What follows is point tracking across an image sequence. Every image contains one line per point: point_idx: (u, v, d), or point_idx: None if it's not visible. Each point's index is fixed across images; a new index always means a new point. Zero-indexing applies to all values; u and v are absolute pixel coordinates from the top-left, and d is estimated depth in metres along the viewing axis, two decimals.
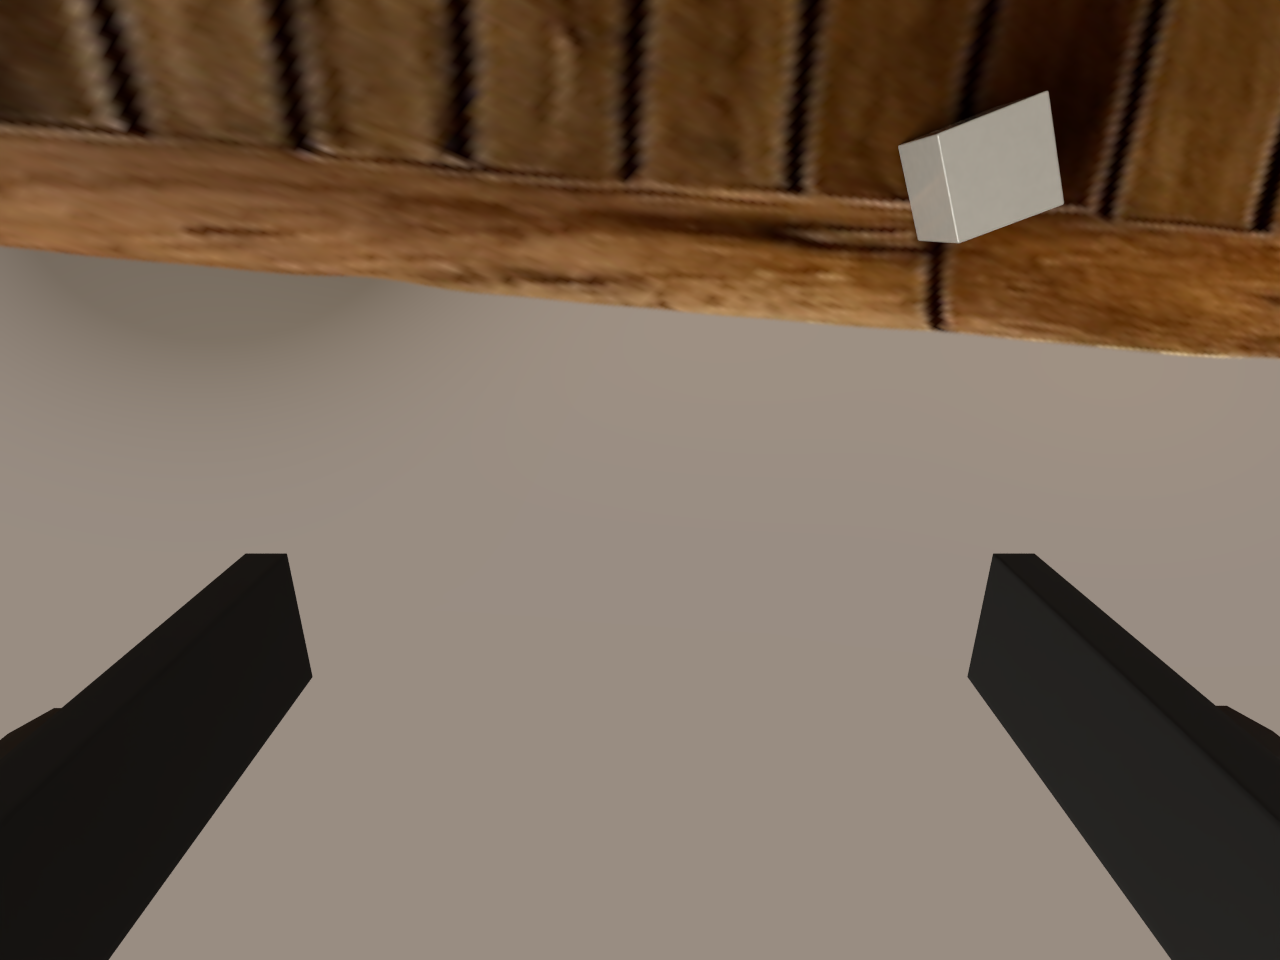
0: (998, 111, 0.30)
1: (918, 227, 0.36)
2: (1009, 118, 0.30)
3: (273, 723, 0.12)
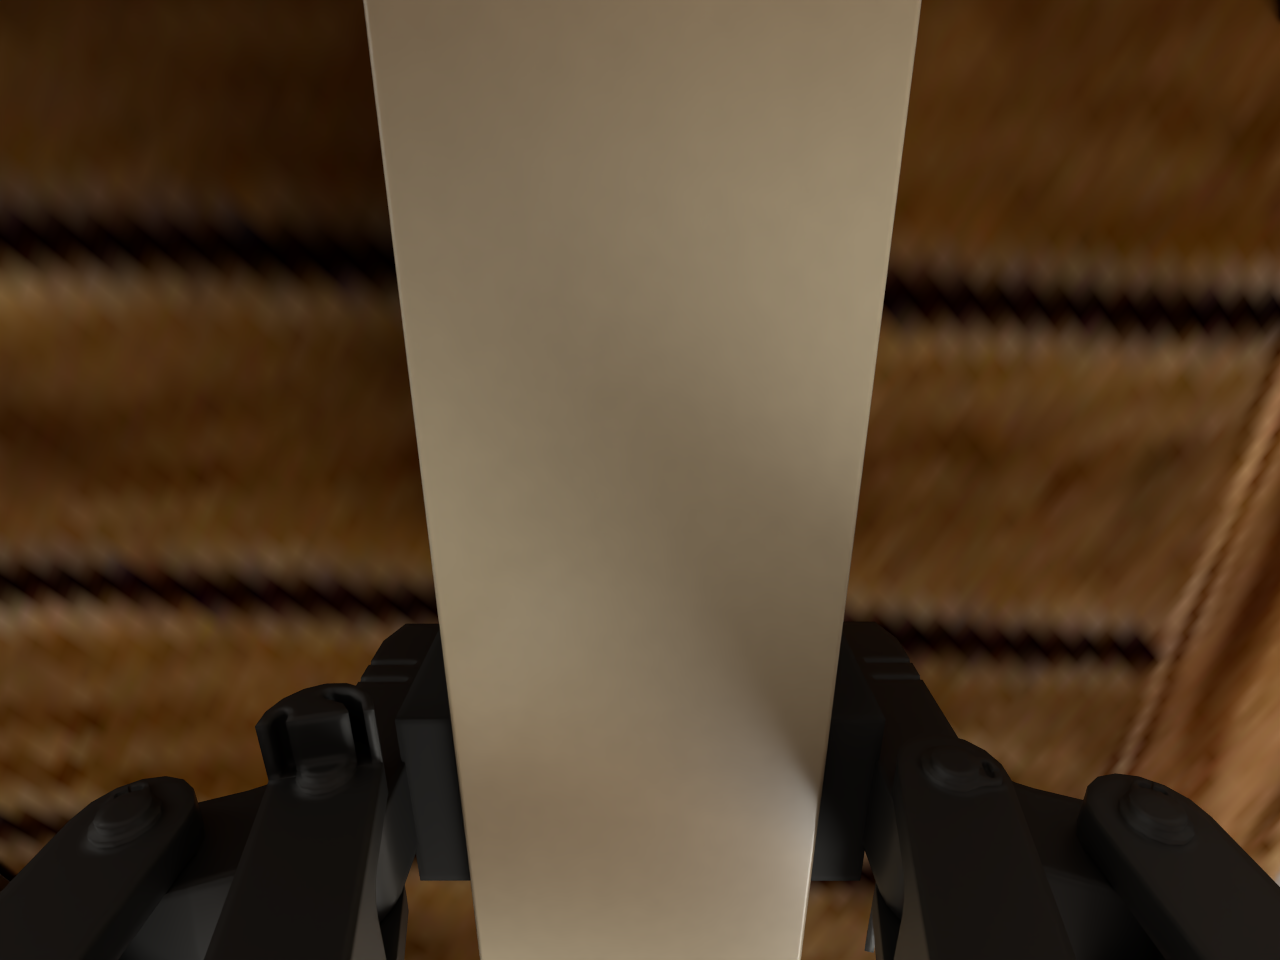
0: None
1: None
2: None
3: None
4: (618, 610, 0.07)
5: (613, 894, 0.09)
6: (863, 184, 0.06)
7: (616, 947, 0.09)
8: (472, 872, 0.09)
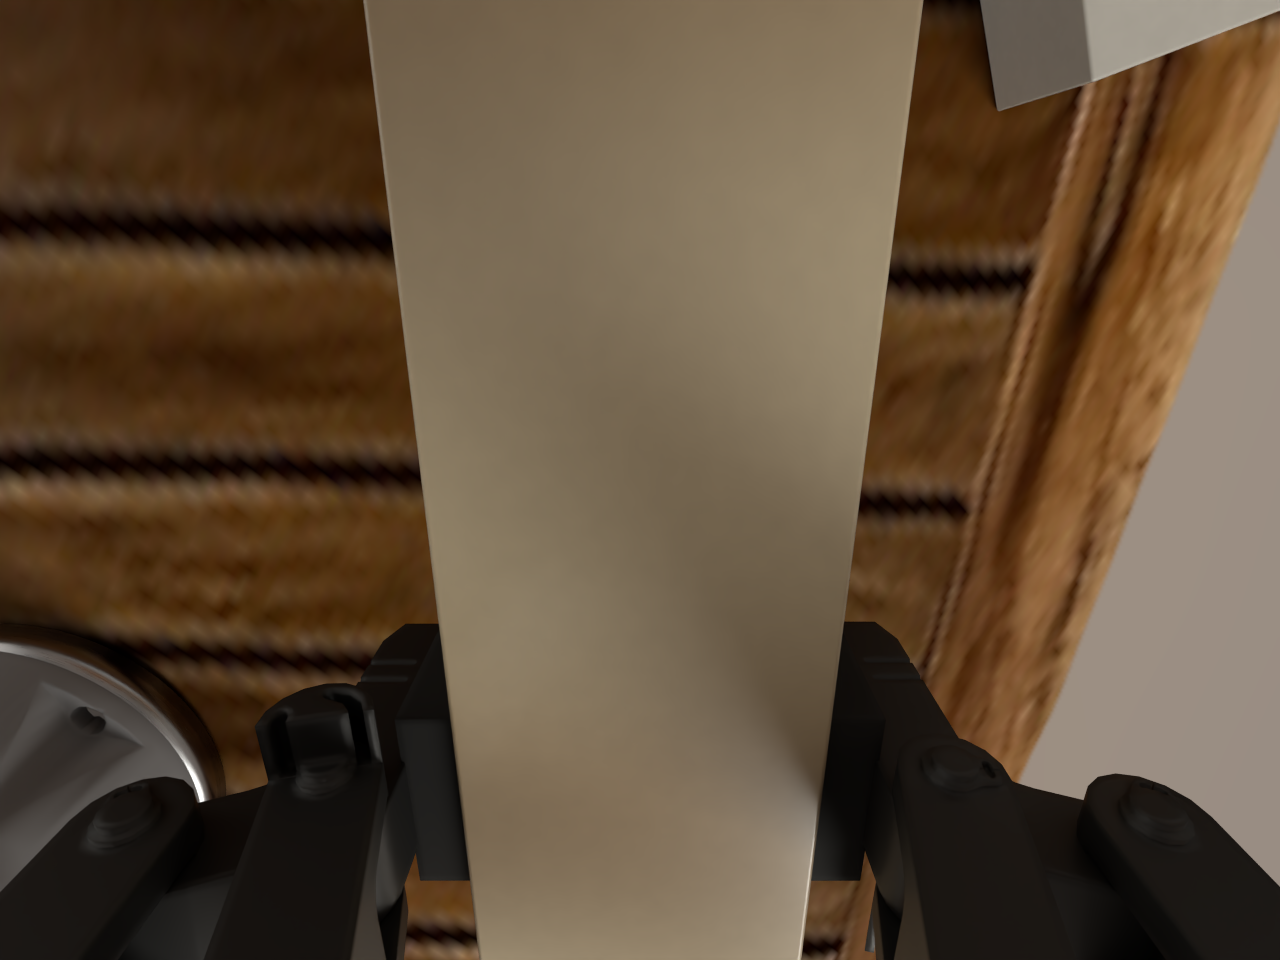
0: None
1: None
2: None
3: None
4: (618, 611, 0.07)
5: (613, 894, 0.09)
6: (864, 184, 0.06)
7: (615, 948, 0.09)
8: (472, 873, 0.09)
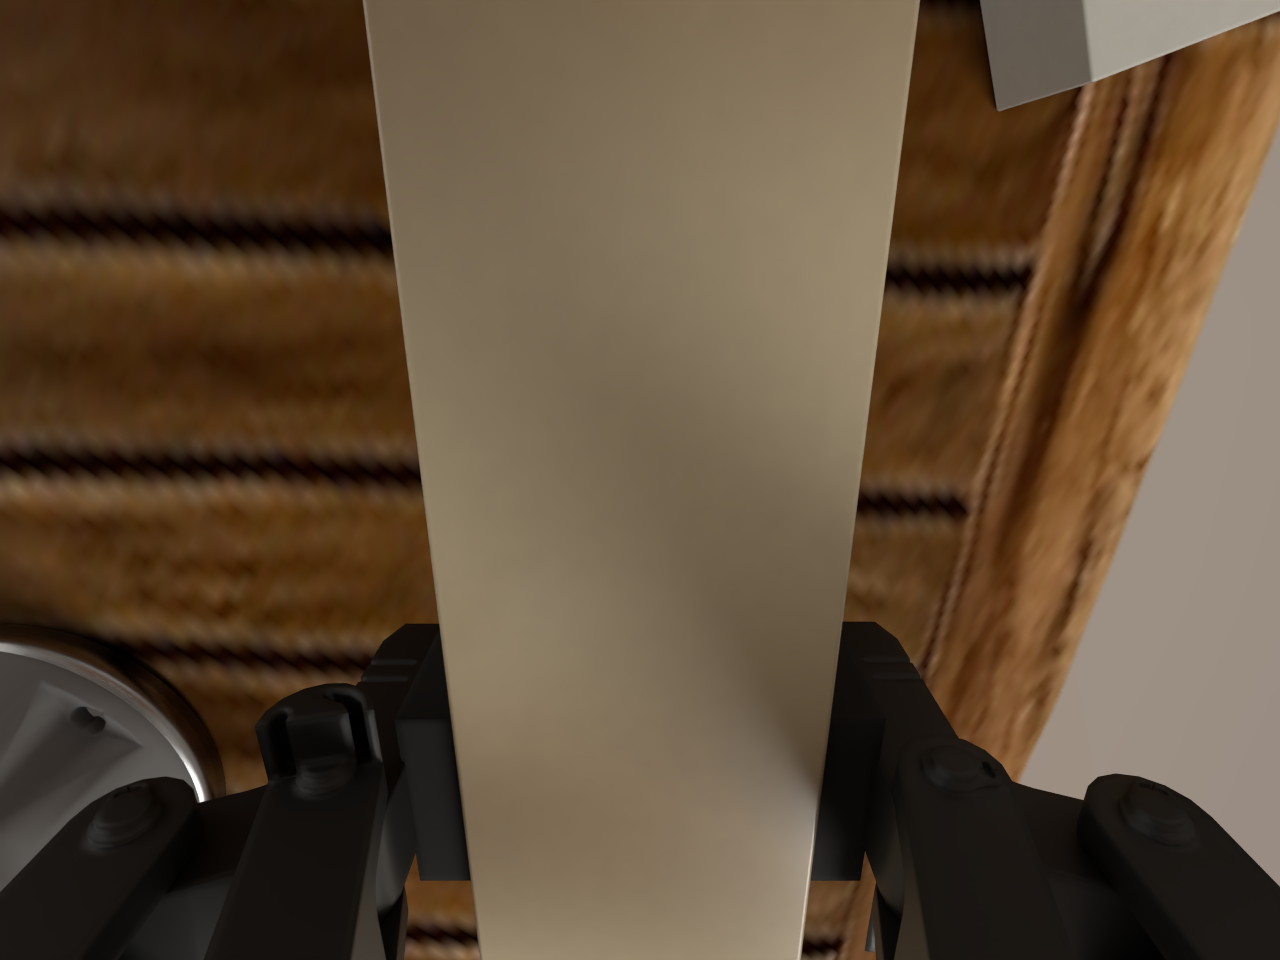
0: None
1: None
2: None
3: None
4: (618, 610, 0.07)
5: (613, 892, 0.09)
6: (862, 184, 0.06)
7: (616, 946, 0.09)
8: (472, 871, 0.09)
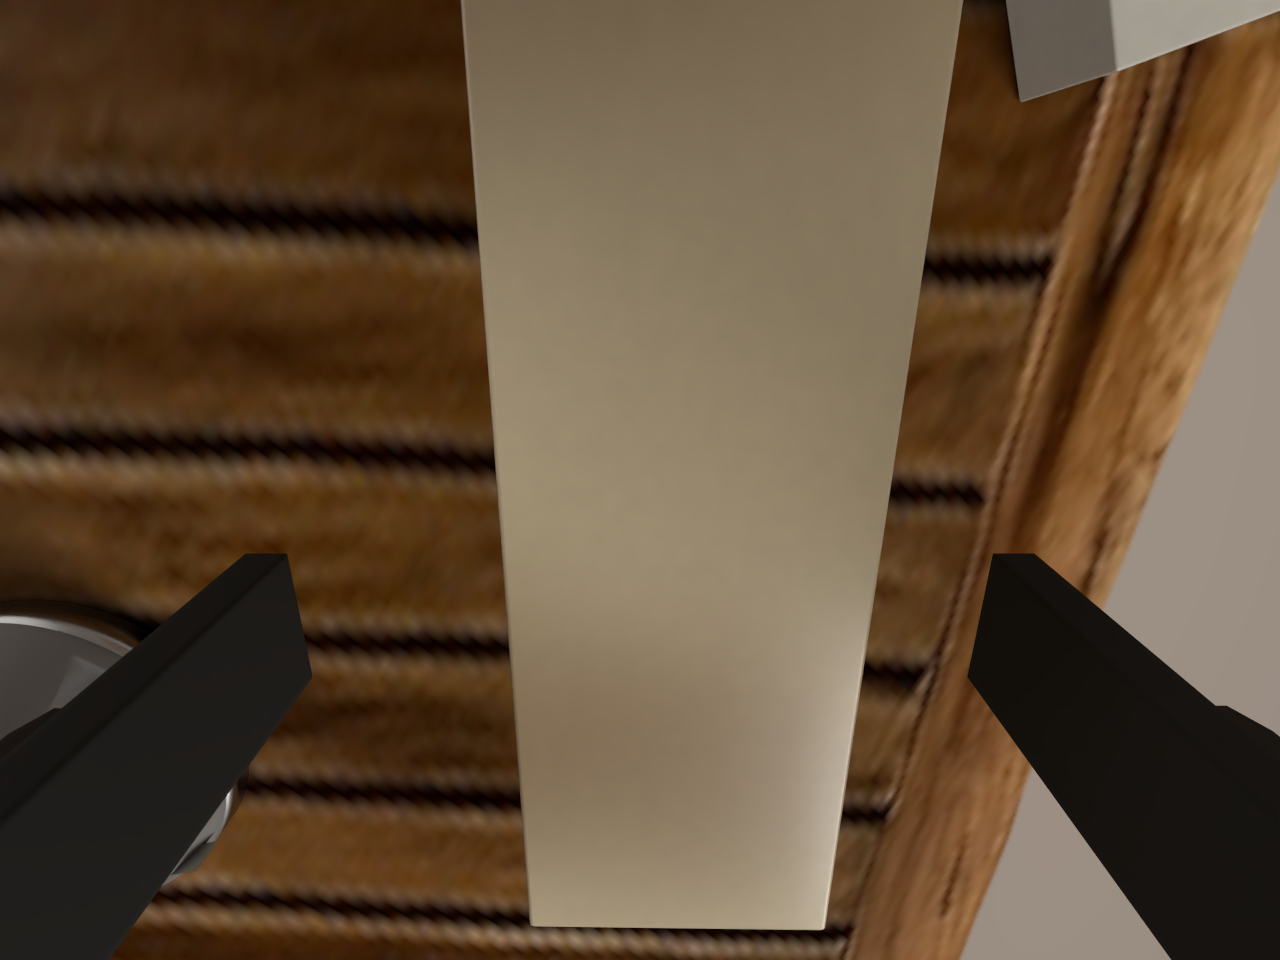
0: None
1: None
2: None
3: (273, 723, 0.12)
4: (670, 543, 0.08)
5: (655, 821, 0.09)
6: (910, 137, 0.06)
7: (656, 873, 0.10)
8: (523, 798, 0.09)
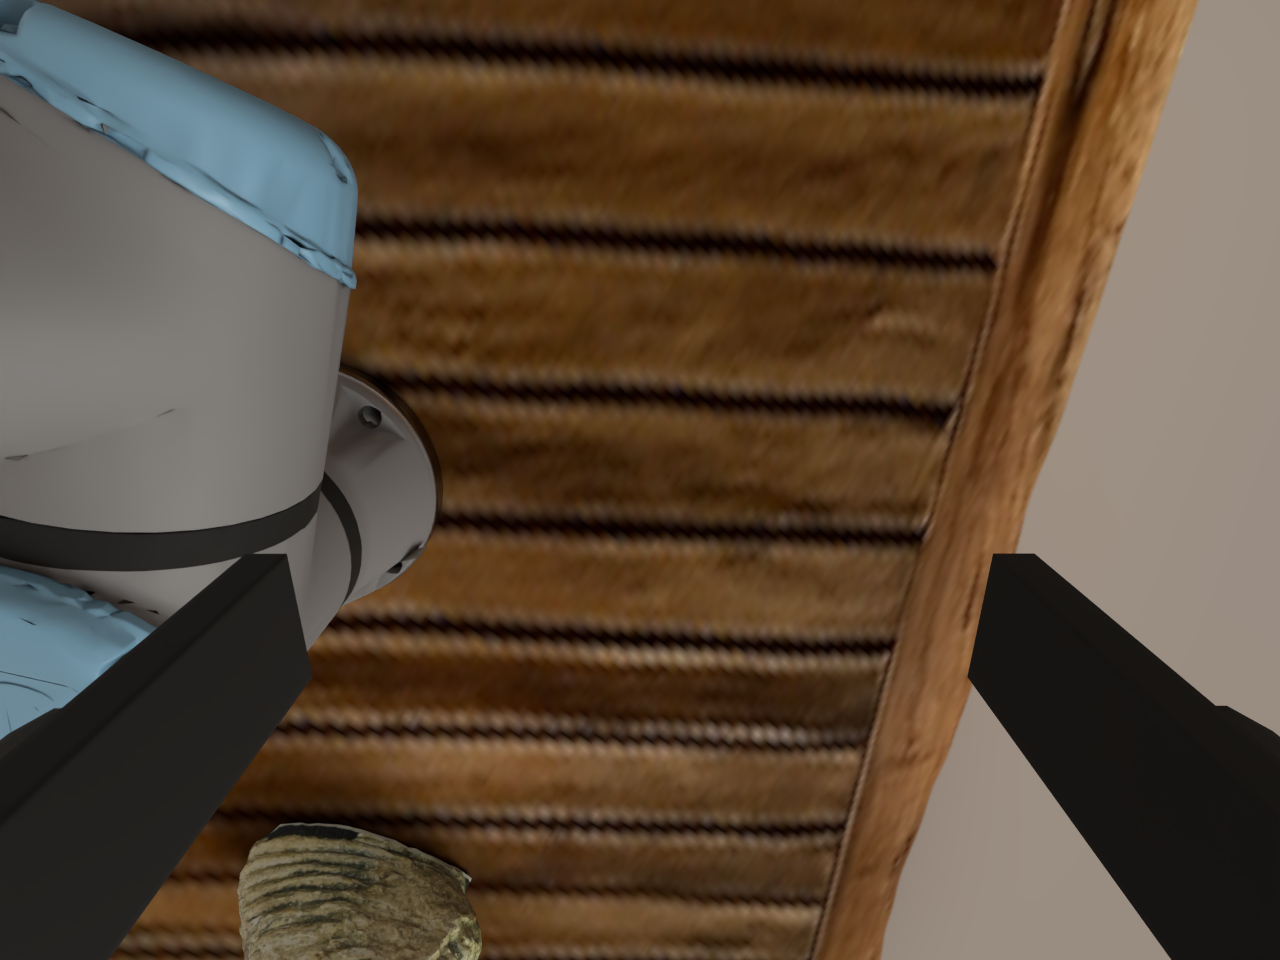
0: None
1: None
2: None
3: (273, 723, 0.12)
4: None
5: None
6: None
7: None
8: None
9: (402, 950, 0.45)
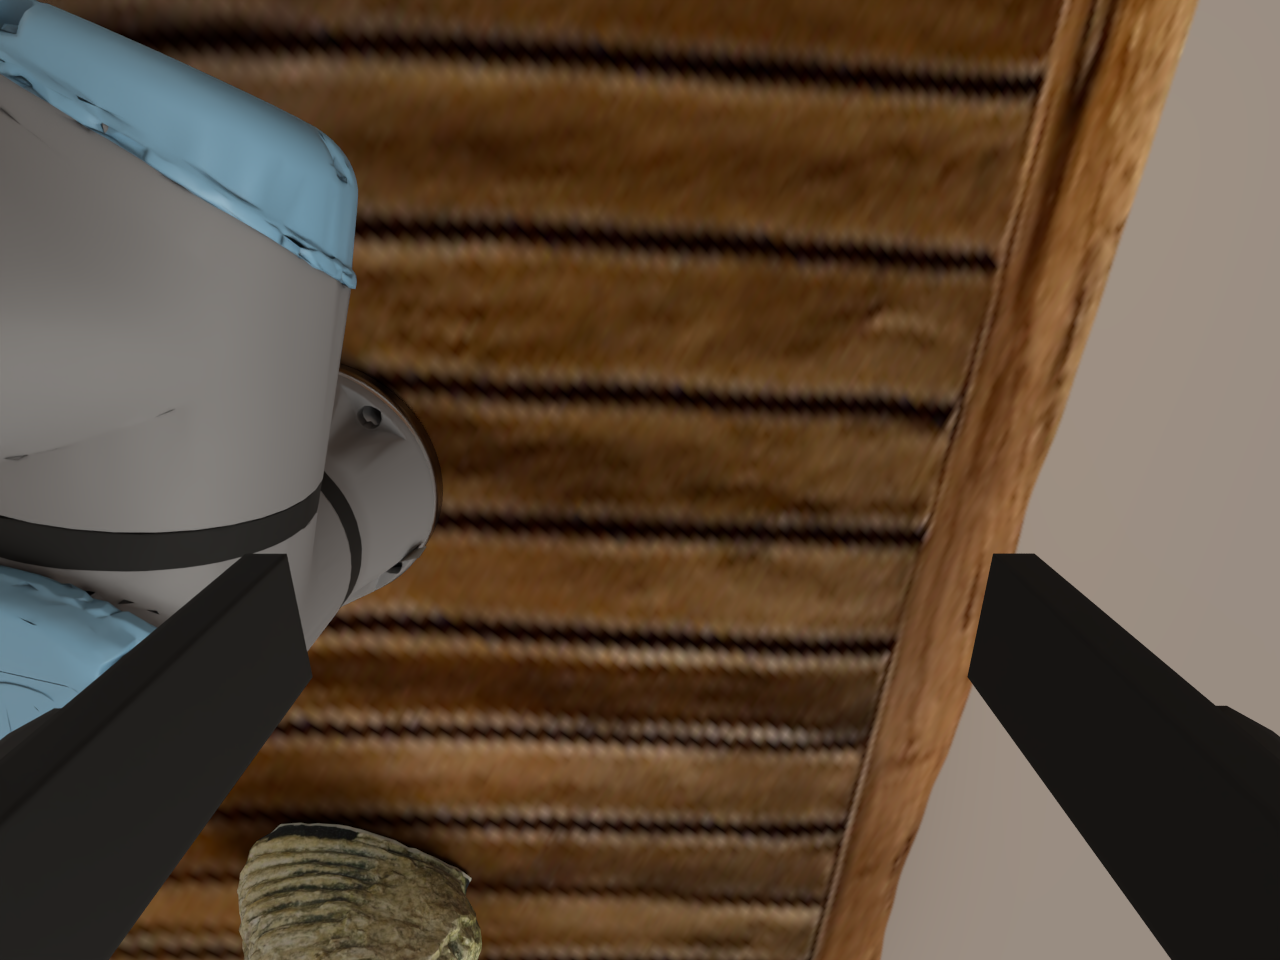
0: None
1: None
2: None
3: (273, 723, 0.12)
4: None
5: None
6: None
7: None
8: None
9: (402, 950, 0.45)
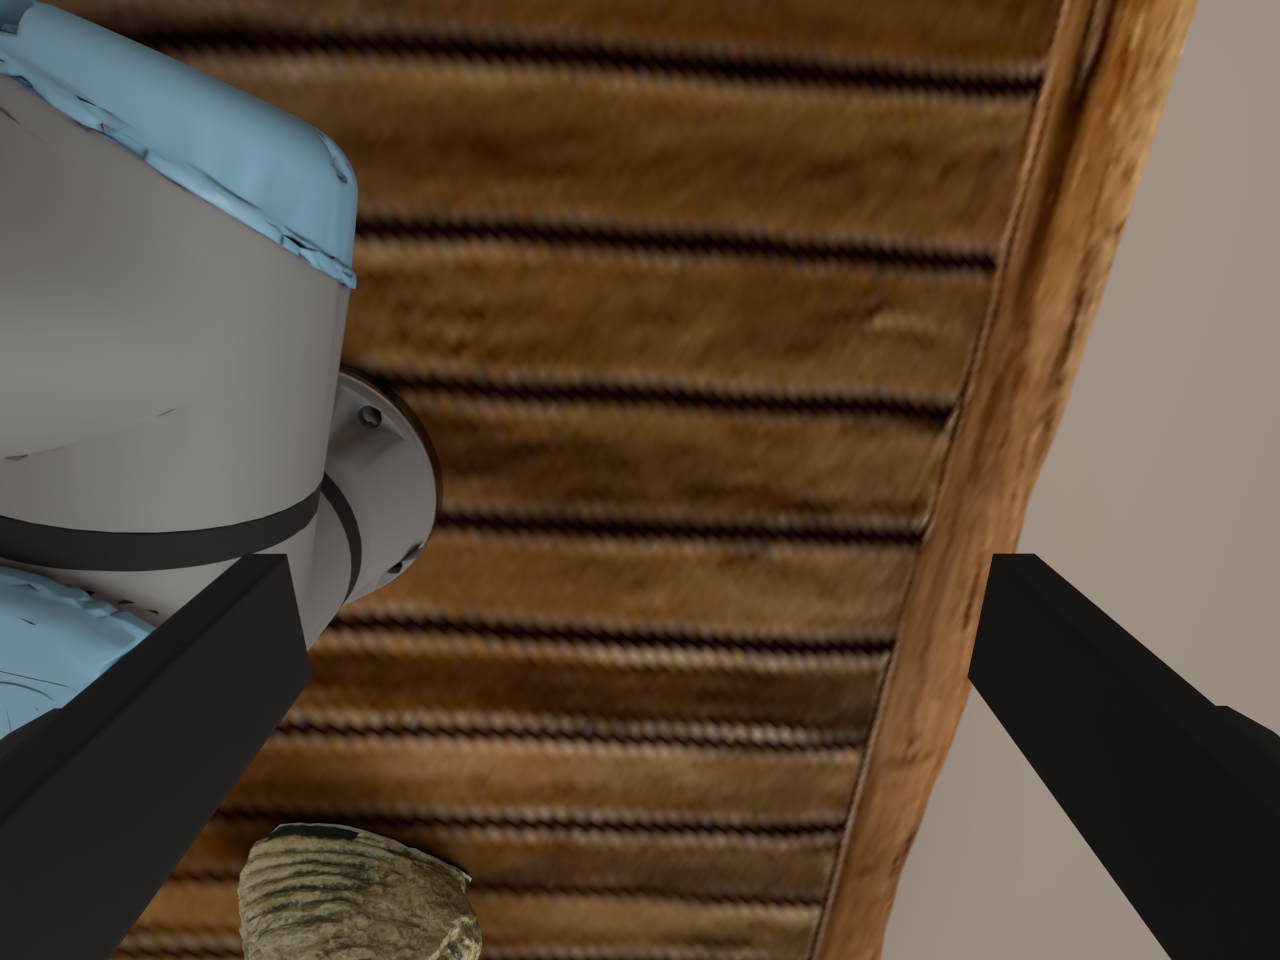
0: None
1: None
2: None
3: (273, 723, 0.12)
4: None
5: None
6: None
7: None
8: None
9: (402, 950, 0.45)
